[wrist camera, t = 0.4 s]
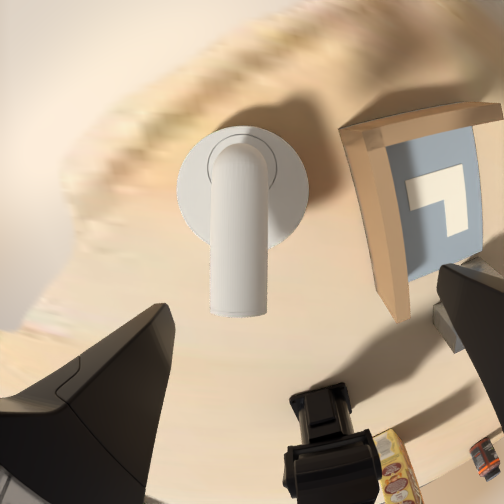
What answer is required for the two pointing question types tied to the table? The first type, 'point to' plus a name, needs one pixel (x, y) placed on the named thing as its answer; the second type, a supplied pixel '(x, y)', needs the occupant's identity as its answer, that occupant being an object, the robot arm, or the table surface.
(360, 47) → the table surface
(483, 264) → the bracket
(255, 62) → the table surface
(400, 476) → the candy box
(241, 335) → the table surface
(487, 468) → the supplement bottle
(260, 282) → the wall hook
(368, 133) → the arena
